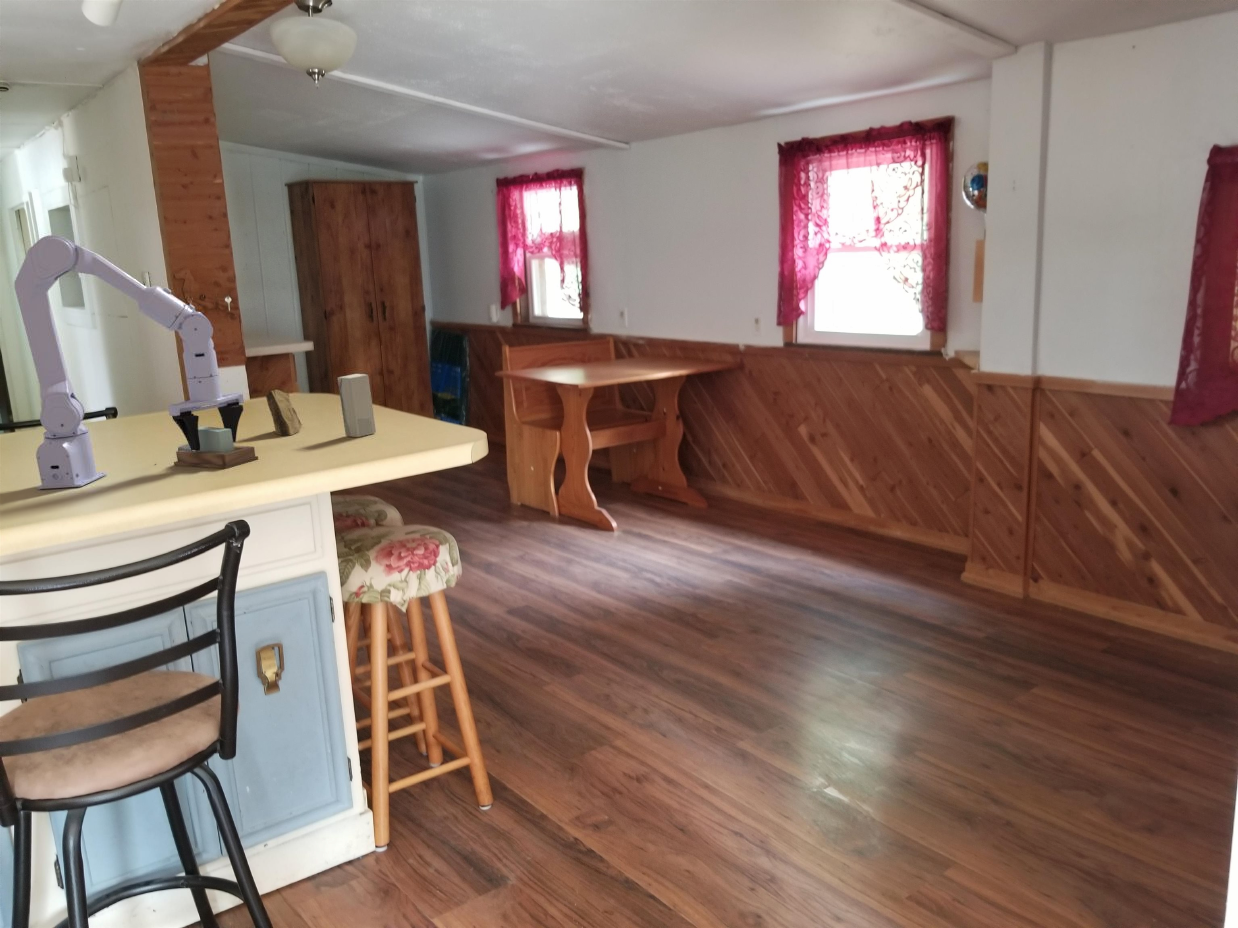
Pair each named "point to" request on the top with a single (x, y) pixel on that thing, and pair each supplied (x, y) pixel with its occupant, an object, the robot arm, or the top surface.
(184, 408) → the robot arm
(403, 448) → the top surface
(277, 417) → the rock
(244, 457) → the floor track
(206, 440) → the pale teal block
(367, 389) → the box
